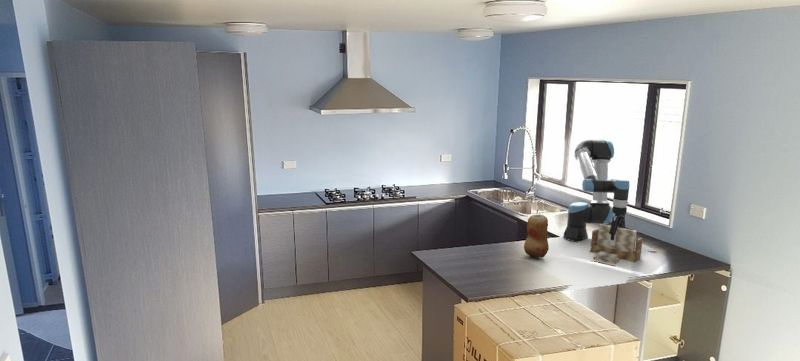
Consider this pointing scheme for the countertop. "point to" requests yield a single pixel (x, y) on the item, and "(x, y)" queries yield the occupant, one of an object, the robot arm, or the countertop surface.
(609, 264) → the grey textured block
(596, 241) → the oak rack
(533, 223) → the butternut squash
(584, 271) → the countertop surface
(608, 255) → the grey mdf offcut
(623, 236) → the patterned board
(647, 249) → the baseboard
